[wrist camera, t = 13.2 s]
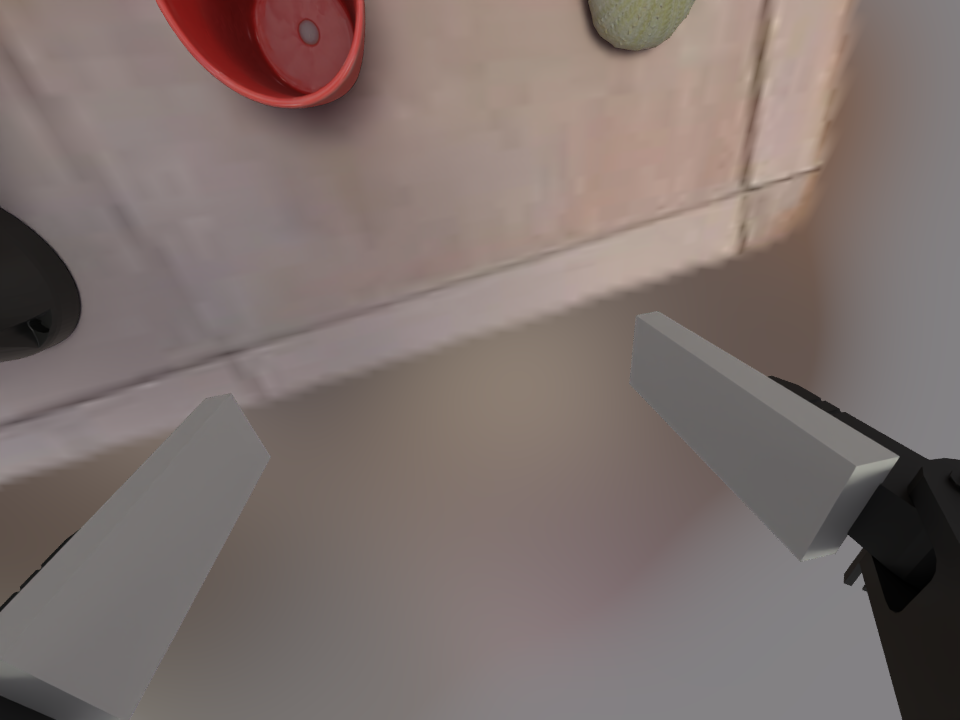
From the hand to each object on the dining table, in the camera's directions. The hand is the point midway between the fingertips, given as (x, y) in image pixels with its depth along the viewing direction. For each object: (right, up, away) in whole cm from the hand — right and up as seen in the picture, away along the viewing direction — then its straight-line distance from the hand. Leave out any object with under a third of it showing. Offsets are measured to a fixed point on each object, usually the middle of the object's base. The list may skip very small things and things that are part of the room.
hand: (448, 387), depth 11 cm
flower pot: (-12, +25, +15) cm, 32 cm away
